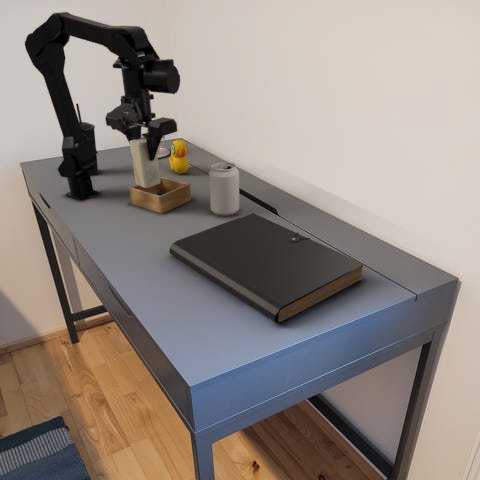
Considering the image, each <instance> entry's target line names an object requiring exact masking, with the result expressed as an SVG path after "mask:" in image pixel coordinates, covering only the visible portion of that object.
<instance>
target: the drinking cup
mask: <svg viewBox="0 0 480 480" xmlns="http://www.w3.org/2000/svg"><path fill="white" fill-rule="evenodd" d="M75 106H76V107H75V108H76V113H77V117H78V120H79V123H80V127H81V130H82V132H83V134H84V135H85V136H86V137H87V138H88V139H90V138H92V139H93V140H94V145H95V148H96V149H97V144H96V131H95V129H96V125H95V124H92V123H90V122H87V121H82V116H81V110H80V105H79V103H75ZM97 154H98V153H97ZM97 154H96V155H97ZM98 172H99V166H98V159H97V160H96V162H95V167H94V170H91V171H89V173H90V176H92V175H96V174H98Z"/></svg>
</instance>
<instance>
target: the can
mask: <svg viewBox="0 0 480 480" xmlns="http://www.w3.org/2000/svg"><path fill="white" fill-rule="evenodd" d="M210 167H211V169H210V170H209V171H208V182H209V183H208V184H209V206H210V211H211V212H213V213H214V214H215V215H217V216H223V217H227V216H232V215H234V214H236V213H237V212H238V211H239V210H240V171H239V169H237V165H236V163H233V162H229V161H220V162H215V163H213V164H211V166H210Z"/></svg>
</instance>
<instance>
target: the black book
mask: <svg viewBox="0 0 480 480" xmlns="http://www.w3.org/2000/svg"><path fill="white" fill-rule="evenodd" d="M169 254H170V255H171V256H173V257H174V258H176V259H177V260H179V261H180V262H182V263H183V264H184V265H186V266H188V267H190V268H191V269H193V270H195V272H197V273H199V274H201V275H202V276H204V277H205V278H206V279H208V280H210V281H211V282H213V283H214V284H216V285H217V286H219V287H221V288H222V289H224V290H225V291H227V292H228V293H230V294H231V295H233V296H234V297H236V298H237V299H239V300H240V301H242V302H244V303H245V304H247V305H248V306H249V307H251V308H253V309H254V310H255V311H257V312H259V313H260V314H262V315H264V316H265V317H267V319H269V320H271V321H273V323H276V324H282V323H284V322H287V321H289V320H290V319H293V318H294V317H296V316H298V315H299V314H301V313H303V312H305V311H307V310H309V309H311V308H312V307H314V306H316V305H318V304H320V303H322V302H324V301H325V300H327V299H329V298H331V297H333V296H334V295H337V294H339V293H340V292H342V291H344V290H347V288H350V287H352V286H354V285H355V284H357V283H359V282H361V281H362V280H363V279H362V275H363V271H364V266H365V264H364V263H363V262H361V261H358V260H357V259H355V258H352V257H350V256H348V255H346V254H344V253H341V252H339V251H337V250H334V249H332V248H330V247H328V246H326V245H324V244H321V243H319V242H317V241H316V240H313V239H311V238H310V237H307V236H304V235H302V234H300V233H299V232H295V231H293V230H291V229H289V228H287V227H285V226H282V225H280V224H279V223H276V222H274V221H272V220H270V219H268V218H265V217H263V216H261V215H259V214H257V213H254V212H252V213H249V214H247V215H244V216H242V217H241V216H240V217H237V218H234V219H231V220H229V221H226V222H224V223H223V222H222V223H221V224H218V225H216V226H213V227H210V228H207V229H205V230H202V231H199V232H196V233H194V234H191V235H189V236H186V237H182V238H181V239H178V240H175V241H174V242H173V243H172V244H171V245H170V246H169Z"/></svg>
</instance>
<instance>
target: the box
mask: <svg viewBox="0 0 480 480" xmlns="http://www.w3.org/2000/svg"><path fill="white" fill-rule="evenodd" d="M129 147H130V148H129V149H130V153H131V161H132V166H133V174H134V180H135V185H139V186H141V187H144V188H148V187H151V186H154V185H157V184H159V183H161V181H160V176H161V173H160V167H159V158H158V157H157V153H156V156H155V158H154V160H153V161H150V158H149V154H148V148H147V141H146V139H145V138H144V137H142V138H139V139H135V140H131V141H130V143H129Z"/></svg>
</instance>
